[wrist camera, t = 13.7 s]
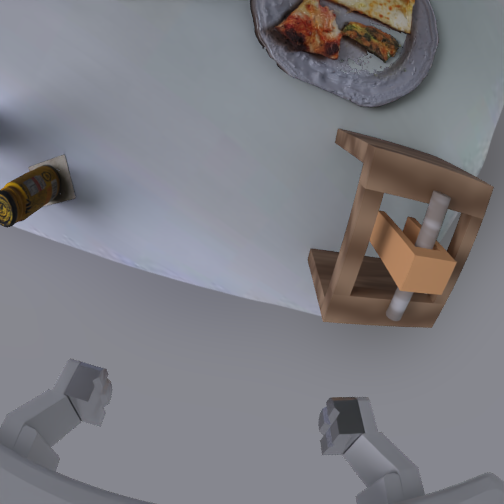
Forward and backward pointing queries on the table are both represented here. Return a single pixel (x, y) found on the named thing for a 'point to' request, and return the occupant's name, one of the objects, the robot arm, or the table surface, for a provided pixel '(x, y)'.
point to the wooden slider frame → (439, 199)
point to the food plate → (349, 44)
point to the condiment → (35, 190)
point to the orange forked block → (411, 257)
